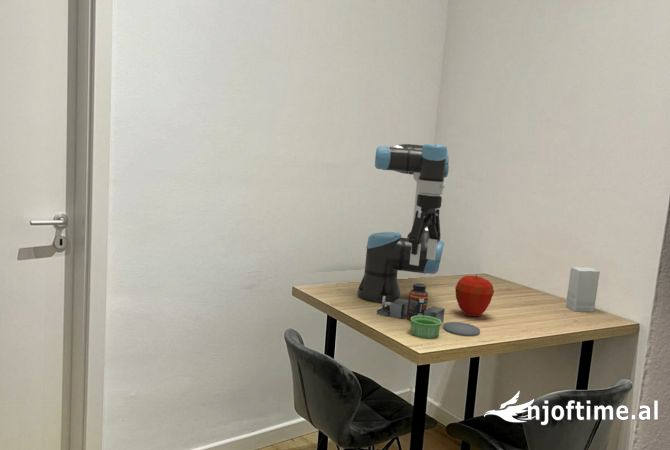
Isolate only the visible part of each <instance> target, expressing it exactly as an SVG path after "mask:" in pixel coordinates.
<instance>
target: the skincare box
mask: <svg viewBox="0 0 670 450" xmlns="http://www.w3.org/2000/svg"><path fill="white" fill-rule="evenodd" d="M600 273H601V271H600V270H599V269H596V268H593V267H591V266H589V267H587V266H585V267H584V266H582V267H581V266H571V267H570V271H569V280H568V285H567V286H568V288H567V295H566V301H565V308H567V309H569V310H570V311H573V312H575V313H576V312H580V313H581V312H582V313H583V312H584V313H585V312H586V313H587V312H588V313H594V312H595V308H596V300H597V293H598V287H599V279H600Z"/></svg>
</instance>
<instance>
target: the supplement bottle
mask: <svg viewBox="0 0 670 450" xmlns="http://www.w3.org/2000/svg"><path fill="white" fill-rule="evenodd" d="M426 290H427V285H426V284H424V283H419V282H418V283H413V284H412V289H411V290H410V291H409V293H408V299H407V300H408V310H407V316H406V318H407V320H409V321H411V317H412V316H417V315H423V316H424V310H426V309H428V300H429V298H428V297H429V293H428V292H427V291H426Z"/></svg>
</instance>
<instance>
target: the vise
mask: <svg viewBox="0 0 670 450" xmlns="http://www.w3.org/2000/svg"><path fill="white" fill-rule="evenodd" d="M385 298H386V296H383V300H382V302H381V303H382V304H381V308H379V309H377V310H376V315H380V316H384V317H393V318H396V319H399V320H400V319H403V318H406V317H407V310H408V300H409V299H404V298H401V297H400V298H399V299H397V300H395V301H392V302H387V301H385ZM445 311H446V309H445V308H444V307H440V306H434V305H432V306H430V307H427V309H426V310H424V316H430V317H434V318H437V319H439V320H441V324H444V317H445Z"/></svg>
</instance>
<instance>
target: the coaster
mask: <svg viewBox="0 0 670 450" xmlns="http://www.w3.org/2000/svg"><path fill="white" fill-rule="evenodd" d="M442 325H443V326H442V329H443V330H444V331H445V332H447V333H450V334H451V335H457V336H461V337H475V336H479V335H480V333H481V329H480V328H479V327H478V326H476V325H473V324H470V323H467V322H460V321H447V322H445V323H443V324H442Z"/></svg>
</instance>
